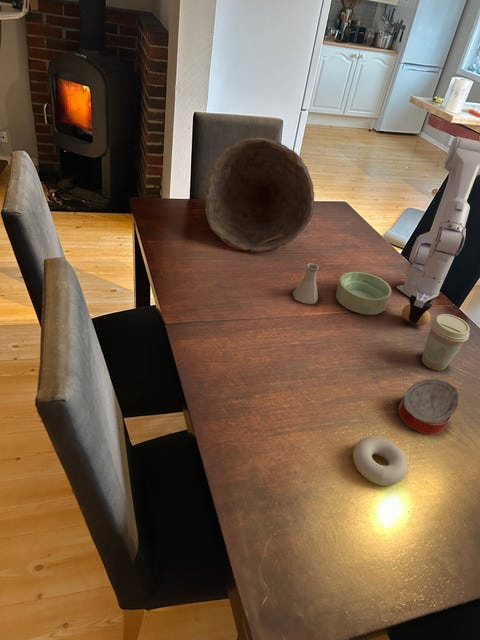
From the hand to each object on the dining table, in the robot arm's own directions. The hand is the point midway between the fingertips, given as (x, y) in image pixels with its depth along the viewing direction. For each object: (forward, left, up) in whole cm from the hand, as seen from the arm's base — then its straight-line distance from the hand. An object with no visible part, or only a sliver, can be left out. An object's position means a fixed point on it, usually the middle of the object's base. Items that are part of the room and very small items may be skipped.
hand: (415, 317), depth 126 cm
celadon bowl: (+7, -13, -2) cm, 15 cm away
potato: (0, 0, -1) cm, 1 cm away
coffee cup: (+8, +14, -2) cm, 16 cm away
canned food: (+25, +25, -2) cm, 35 cm away
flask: (+21, -21, -2) cm, 30 cm away
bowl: (+13, -56, -2) cm, 58 cm away
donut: (+43, +30, -2) cm, 53 cm away
